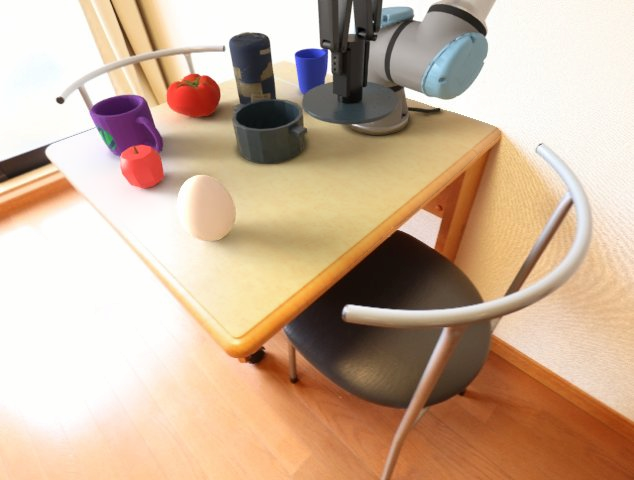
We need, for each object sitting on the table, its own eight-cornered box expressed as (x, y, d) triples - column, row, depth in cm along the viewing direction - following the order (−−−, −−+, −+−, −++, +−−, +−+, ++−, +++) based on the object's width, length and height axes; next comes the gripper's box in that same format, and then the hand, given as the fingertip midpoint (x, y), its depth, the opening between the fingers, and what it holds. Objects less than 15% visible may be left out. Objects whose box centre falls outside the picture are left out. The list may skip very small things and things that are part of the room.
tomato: (186, 131, 88) (175, 95, 82) (165, 114, 95) (154, 79, 89) (236, 113, 94) (229, 78, 88) (213, 98, 101) (205, 65, 95)
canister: (256, 98, 100) (244, 24, 88) (284, 104, 97) (277, 28, 84) (233, 112, 95) (217, 35, 82) (263, 119, 91) (251, 40, 78)
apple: (121, 182, 74) (103, 146, 68) (158, 166, 78) (144, 131, 72) (139, 198, 70) (121, 162, 64) (176, 180, 73) (163, 144, 68)
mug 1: (99, 151, 83) (77, 109, 76) (141, 130, 89) (125, 89, 82) (146, 174, 75) (127, 129, 68) (189, 150, 82) (175, 106, 75)
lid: (341, 80, 68) (341, 18, 61) (415, 101, 61) (426, 32, 54) (282, 110, 60) (275, 42, 53) (360, 138, 53) (364, 64, 45)
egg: (225, 211, 66) (209, 155, 58) (250, 236, 61) (237, 179, 53) (180, 233, 62) (156, 177, 54) (203, 262, 57) (181, 204, 49)
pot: (264, 121, 90) (260, 90, 85) (327, 146, 81) (326, 113, 76) (217, 145, 83) (209, 113, 78) (281, 176, 73) (276, 142, 68)
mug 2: (339, 84, 105) (339, 46, 98) (316, 100, 98) (315, 60, 91) (314, 79, 108) (313, 42, 102) (291, 94, 101) (288, 55, 94)
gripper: (370, -115, 49) (362, 68, 65) (280, -110, 40) (296, 102, 56) (421, -118, 45) (398, 78, 61) (334, -112, 36) (335, 115, 52)
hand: (350, 89), depth 59 cm, fingers closed on lid, 4 cm apart
